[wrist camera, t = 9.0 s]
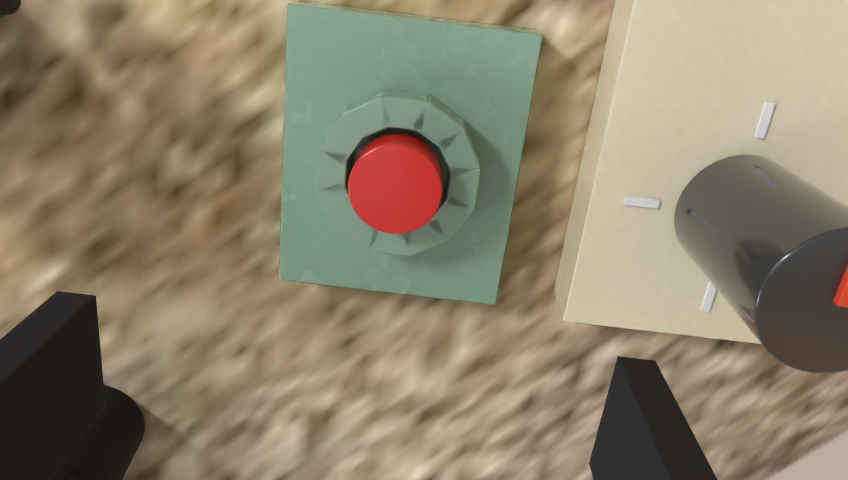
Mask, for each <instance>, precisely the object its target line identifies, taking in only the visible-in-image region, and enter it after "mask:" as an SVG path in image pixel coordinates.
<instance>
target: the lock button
mask: <svg viewBox="0 0 848 480" xmlns="http://www.w3.org/2000/svg"><path fill="white" fill-rule="evenodd" d="M442 182H443V176H442V169H441V165H440V162H439V160H438V158H437V156H436V154H435V153H434V152H433V150H432V149H431V148H430V147H429V146H428V145H427V144H425V143H424V142H422V141H421V140H419V139H417V138H415V137H412V136H409V135H405V134H389V135H384V136H381V137H379V138H377V139H375V140H373V141H372V142H370V143H369V144H368V145H367V146H365V147H364V149H363V150H362V151H361V152H360V154H359V156H358V158H357V160H356V162H355V164H354V166H353V168H352V171H351V173H350V176H349V181H348V195H349V199H350V203H351V205H352V207H353V209H354V211H355V212H356V214H357V215H358V216H359V218H360V219H361V220H362V221H363V222H365V223H366V224H367V225H369V226H370V227H372V228H374V229H376V230H378V231H381V232H384V233H390V234H403V233H408V232H412V231H414V230H417V229H419V228H420V227H422V226H424V225H425V224H426V223H427V222H429V221H430V220H431V218H432V217H433V216H434V215H435V213H436V212H437V210H438V208H439V205H440V202H441V198H442Z"/></svg>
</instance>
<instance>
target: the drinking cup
mask: <svg viewBox="0 0 848 480" xmlns="http://www.w3.org/2000/svg"><path fill="white" fill-rule="evenodd" d="M104 397H105V410H104V411H103V412H102V413H101V415H100V416H99V417H98V419H97V420H96V421H95V423H94V424H93V425H92V426H91V428H90V429H89V430H88V432H87V433H86V434H85V436H84V437H83V438H82V440H81V441H80V442H79V443H78V445H77V446H76V447H75V449H74V450H73V451H72V453H71V454H70V455H69V456H68V458H67V459H66V460H65V462H64V463H63V464H62V466H61V467H60V468H59V469H58V471H57V472H56V473H55V475H54V476H53V477H52V479H51V480H122V479H123V477H124V475H125V473H126V471H127V469H128V467H129V465H130V463H131V461H132V459H133V457H134V455H135V453H136V451H137V449H138V447H139V444H140V442H141V440H142V438H143V435H144V431H145V425H144V419H143V416H142V414H141V412H140V410H139V408H138V407H137V406H136V404H135V403H134V402H133V401H132V400H131V399H130V398H129V397H127V396H126V395H125V394H123V393H122V392H120V391H118V390H116V389H114V388H111V387H108V386H104Z"/></svg>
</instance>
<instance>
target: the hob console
mask: <svg viewBox="0 0 848 480" xmlns="http://www.w3.org/2000/svg"><path fill="white" fill-rule="evenodd" d="M738 155H756V156H761V157H764V158H767V159H770V160H772V161H774V162H776V163H778V164H779V165H781V166H783V167H784V168H786V169H788V170H789V171H791V172H793V173H794V174H796V175H798V176H799V177H801V178H802V179H804V180H806V181H807V182H809V183H811V184H812V185H814V186H816V187H817V188H819V189H821V190H822V191H824V192H826V193H827V194H829V195H830V196H832V197H834V198H835V199H837V200H839V201H840V202H842V203H844V204H845V205H847V206H848V0H615V4H614V9H613V13H612V18H611V23H610V28H609V32H608V37H607V42H606V46H605V51H604V56H603V61H602V65H601V70H600V75H599V80H598V84H597V89H596V94H595V98H594V103H593V108H592V113H591V117H590V122H589V127H588V131H587V136H586V141H585V146H584V150H583V155H582V160H581V164H580V169H579V174H578V179H577V183H576V188H575V193H574V198H573V202H572V207H571V212H570V216H569V221H568V226H567V231H566V235H565V240H564V245H563V249H562V254H561V259H560V264H559V268H558V273H557V278H556V283H555V287H554V293H555V296H556V299H557V302H558V305H559V308H560V312H561V315H562V318H563V321H567V322H576V323H584V324H593V325H602V326H610V327H619V328H627V329H636V330H645V331H653V332H662V333H671V334H679V335H688V336H697V337H705V338H714V339H722V340H731V341H740V342H748V343H757V344H761V343H760V341H759V340H758V339H757V338H756V337H755V335H754V334H753V333H752V332H751V331H750V329H749V328H748V327H747V326H746V324H745V323H744V322H743V321H742V320H741V318H740V317H739V316H738V315H737V314H736V312H735V311H734V310H733V309H732V308H731V306H730V305H729V304H728V303H727V301H726V300H725V299H724V298H723V297H722V295H721V294H720V293H719V292H718V291H717V289H716V288H715V287H714V286H713V284H712V283H711V282H710V281H709V280H708V278H707V277H706V276H705V275H704V274H703V272H702V271H701V270H700V269H699V267H698V266H697V265H696V264H695V263H694V261H693V260H692V259H691V258H690V257H689V255H688V254H687V253H686V252H685V250H684V249H683V248H682V246H681V245H680V243H679V241H678V239H677V236H676V233H675V228H674V214H675V209H676V205H677V202H678V200H679V197H680V195H681V193H682V191H683V190H684V188H685V187H686V185H687V184H688V183H689V182H690V181H691V179H692V178H693V177H694V176H695V175H697V174H698V173H699V172H700V171H701V170H703V169H704V168H706V167H707V166H709V165H711V164H712V163H714V162H717V161H719V160H721V159H725V158H728V157H732V156H738Z"/></svg>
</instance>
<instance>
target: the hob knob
mask: <svg viewBox="0 0 848 480" xmlns="http://www.w3.org/2000/svg"><path fill="white" fill-rule="evenodd" d="M674 228H675V233H676V236H677V239H678V241H679V243H680V245H681V246H682V248H683V249H684V250H685V252H686V253H687V254H688V255H689V257H690V258H691V259H692V260H693V261H694V263H695V264H696V265H697V266H698V267H699V269H700V270H701V271H702V272H703V274H704V275H705V276H706V277H707V278H708V280H709V281H710V282H711V283H712V284H713V286H714V287H715V288H716V289H717V291H718V292H719V293H720V294H721V295H722V297H723V298H724V299H725V300H726V301H727V303H728V304H729V305H730V306H731V308H732V309H733V310H734V311H735V312H736V314H737V315H738V316H739V317H740V318H741V320H742V321H743V322H744V323H745V324H746V326H747V327H748V328H749V329H750V331H751V332H752V333H753V334H754V335H755V337H756V338H757V339H758V340H759V341H760V343H761V344H762V345H763V346H764V348H765V349H766V350H767V351H768V352H769V353H770V354H771V355H772V356H773V357H774V358H775V359H777V360H779V361H780V362H782V363H783V364H785V365H788V366H790V367H792V368H795V369H798V370H802V371H807V372H814V373H833V372H840V371H845V370H848V206H847V205H845V204H844V203H842V202H840V201H839V200H837V199H835V198H834V197H832V196H830V195H829V194H827V193H826V192H824V191H822V190H821V189H819V188H817V187H816V186H814V185H812V184H811V183H809V182H807V181H806V180H804V179H802V178H801V177H799V176H798V175H796V174H794V173H793V172H791V171H789V170H788V169H786V168H784V167H783V166H781V165H779V164H778V163H776V162H774V161H772V160H770V159H767V158H764V157H761V156H756V155H738V156H732V157H728V158H725V159H721V160H719V161H717V162H714V163H712V164H711V165H709V166H707V167H706V168H704V169H703V170H701V171H700V172H699V173H698V174H697V175H695V176H694V177H693V178H692V179H691V181H690V182H689V183H688V184H687V185H686V187H685V188H684V190H683V191H682V193H681V195H680V197H679V200H678V202H677V205H676V209H675V214H674Z"/></svg>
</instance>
